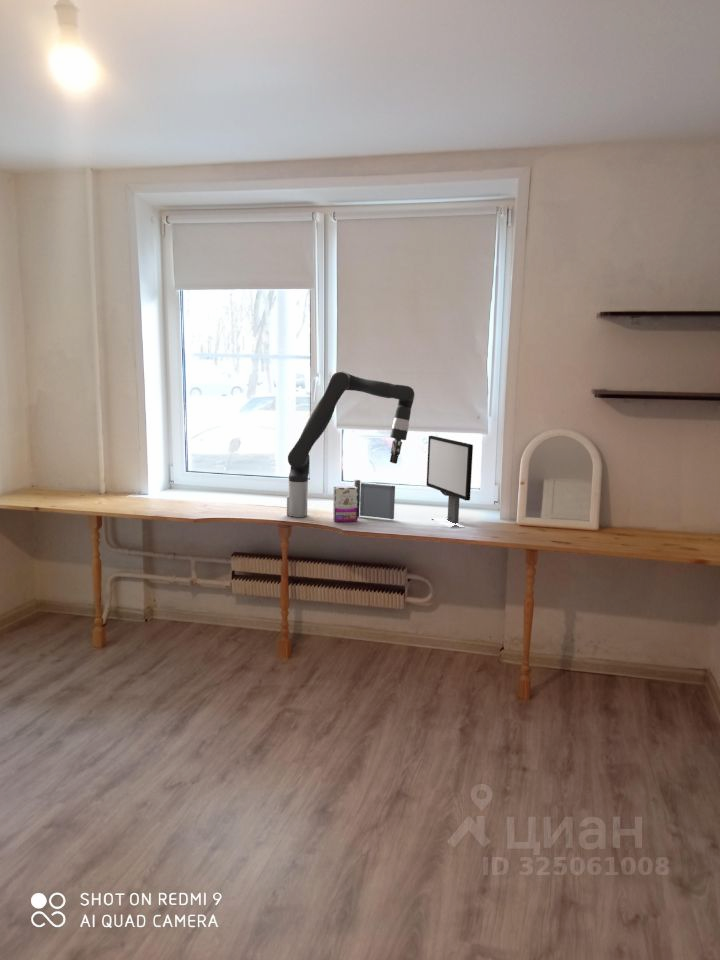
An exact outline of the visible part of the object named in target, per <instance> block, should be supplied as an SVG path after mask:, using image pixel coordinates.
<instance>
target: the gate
mask: <svg viewBox="0 0 720 960" xmlns="http://www.w3.org/2000/svg"><path fill="white" fill-rule="evenodd" d="M395 497H396V485H390V484H389V485H387V484H377V483H376V484H375V483H365V482H360V508H359V517H368V518H378V519H386V520H387V519H389V520H394V519H395Z"/></svg>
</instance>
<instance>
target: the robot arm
mask: <svg viewBox="0 0 720 960" xmlns="http://www.w3.org/2000/svg"><path fill="white" fill-rule="evenodd" d="M345 391H355V392H361V393H366V394H368V395H372V396H376V397H379V398H380V397H381V398H385V399H395V400H398V403H397V407H396V409H395V413H394V419H393V422H392V426H391V432H390V436H389V437H390V439H391V438H392V439H394V440H392V444H391V445H392V446H391V449H390V459H389V463H392V464H397V463H398V461H399V456H400V455H401V449H402V445H403V441H407V438H408V437H407V436H408V432H409V428H410V427H409V426H410V419H411V413H412V408H413V407H412V406H413V404H414V401H415V391H414V389H413V388H412V387H411V386H409V385H403V384H394V383H391V382H386V381H380V380H373V379H369V378H368V379H366V378H364V377H363V378H362V377H359V376H355V375H352V374H351V373H348V372H346V371H336V372H334V373H333V374H332V375H331V377H330V380H329V383H328V384H327V387H326V389H325V391H324V394H323V396H322V397H321V399H320V400H319V401H318V402H317V404H316V406H315V407H314V409H313V410H312V413H311V414H310V416H309V418H308V420H307V422H306V423H305V426H304V428H303V430H302V432H301V434H300V437H299V439H297V441H296V443H294V446H293V448H292V449H291V450H290V451H289V452H288V455H287V462H288V464H289V466H290V470H289V471H290V472H289V473H288V495H287V496H286V516H287V515H289V517H291V516H293V517H292V518H305V517H307V516H308V500H309V499H308V498H309V497H308V496H309V495H308V492H309V491H308V489H309V487H308V486H309V475H310V452H311V450H312V448H313V446H314V444H315V443H316V442H317V441H318V440H319V438H320V437H321V436H322V435H323V433H324V432H325V430H326V429H327V427H328V425H329V423H330V421H331V419H332V417H333V414H334V412H335V409H336V406H337V404H338V402H339V400H340V398H341V397H342V395H343V394H344V393H345ZM304 516H305V517H304Z"/></svg>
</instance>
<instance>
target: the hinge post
mask: <svg viewBox="0 0 720 960" xmlns="http://www.w3.org/2000/svg"><path fill="white" fill-rule="evenodd" d="M353 487H357V488H358V508H357V518H360V491H361V480H360V479H353Z"/></svg>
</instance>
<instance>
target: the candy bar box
mask: <svg viewBox="0 0 720 960" xmlns="http://www.w3.org/2000/svg"><path fill="white" fill-rule="evenodd" d="M332 507H333V508H332V509H333V510H332V511H333V515H332V516H333V517H332V520H333V521H334V523H348V522H349V523H352V522H353V523H355V522H358V517H357V508H358V488H357V487H354V486H333V506H332Z"/></svg>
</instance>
